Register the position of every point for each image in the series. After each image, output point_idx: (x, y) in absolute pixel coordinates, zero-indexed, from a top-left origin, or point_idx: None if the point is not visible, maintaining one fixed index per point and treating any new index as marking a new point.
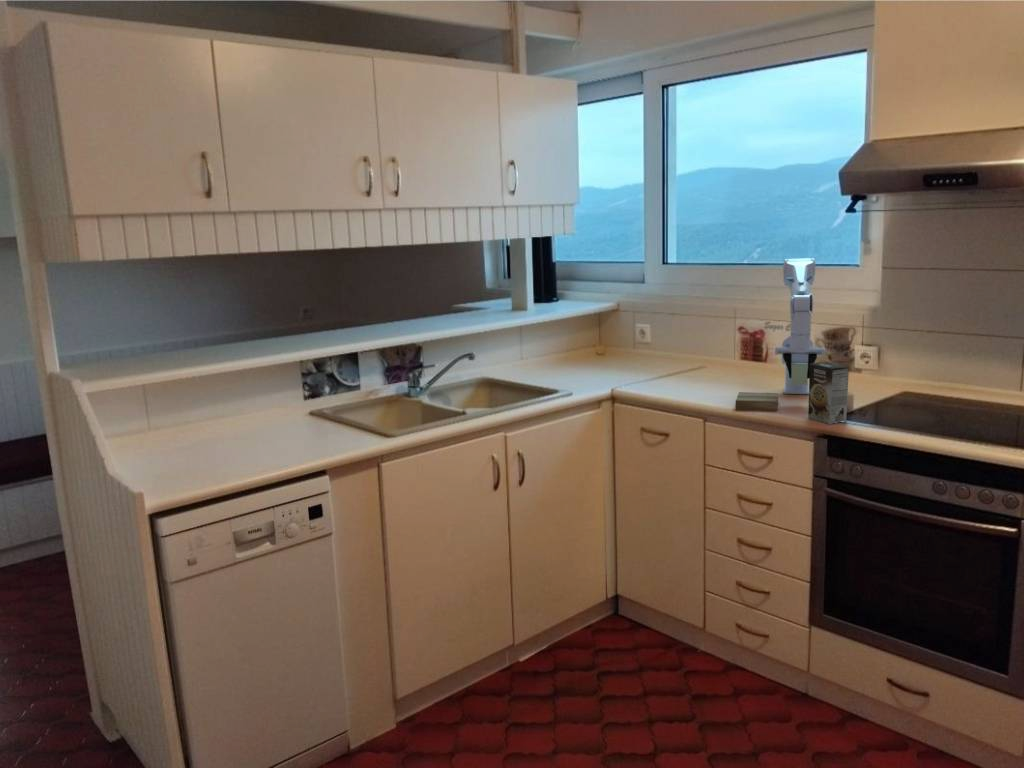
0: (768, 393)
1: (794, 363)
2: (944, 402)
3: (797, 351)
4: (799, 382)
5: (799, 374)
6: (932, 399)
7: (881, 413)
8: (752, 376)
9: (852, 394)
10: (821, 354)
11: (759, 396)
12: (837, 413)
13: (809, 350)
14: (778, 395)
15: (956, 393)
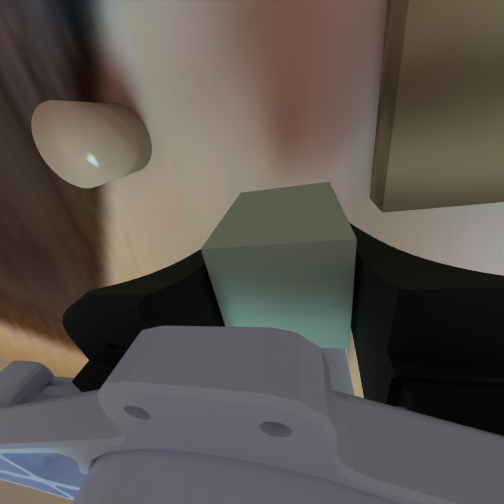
0: (436, 198)
1: (328, 322)
2: (2, 292)
3: (281, 353)
4: (279, 191)
5: (277, 209)
6: (34, 311)
7: (13, 132)
8: None
9: (43, 149)
10: (36, 371)
11: None
12: None
13: (61, 421)
14: (380, 202)
15: (36, 352)
